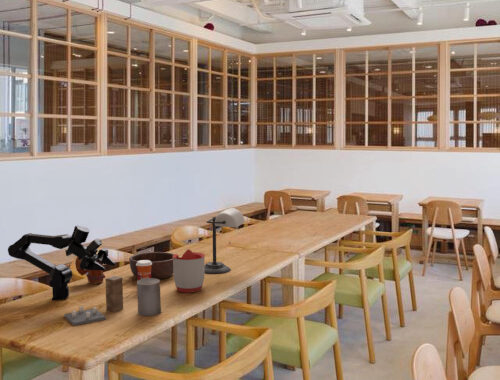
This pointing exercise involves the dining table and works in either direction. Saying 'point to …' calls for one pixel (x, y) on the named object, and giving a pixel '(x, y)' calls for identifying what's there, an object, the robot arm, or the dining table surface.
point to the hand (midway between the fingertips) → (109, 267)
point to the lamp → (223, 219)
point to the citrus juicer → (189, 271)
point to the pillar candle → (148, 296)
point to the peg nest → (84, 316)
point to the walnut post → (114, 294)
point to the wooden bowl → (154, 264)
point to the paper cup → (144, 269)
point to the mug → (90, 273)
